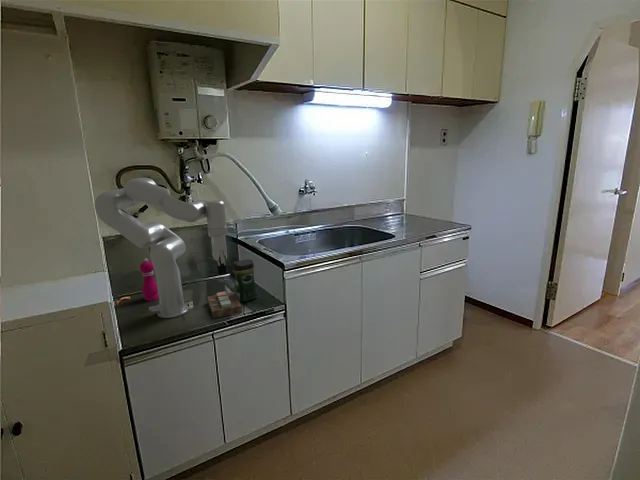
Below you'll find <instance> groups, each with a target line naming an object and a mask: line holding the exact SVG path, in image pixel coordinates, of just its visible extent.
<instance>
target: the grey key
mask: <svg viewBox="0 0 640 480" xmlns="http://www.w3.org/2000/svg"><path fill="white" fill-rule="evenodd" d="M218 299H219V304H220V301H226V300H229V298H228V296H222V297H218Z"/></svg>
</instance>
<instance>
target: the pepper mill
mask: <svg viewBox="0 0 640 480" xmlns="http://www.w3.org/2000/svg"><path fill="white" fill-rule="evenodd" d="M139 269H140V271H141V274H142V277H143V283H142V288H141V292H142V294H143V295H144V296H143V297H144V298H143V299H144V300H145V301H146V300H147V301H146V302H153V301H156V300H158V299H159V294H158V287H157V281H155V279H154V275H155V272H154V266H153V264H152V261H151V260H150V261H149V259H148V258H146V257H145V258H144V259H143V262H141V263H140V265H139ZM152 300H153V301H152Z"/></svg>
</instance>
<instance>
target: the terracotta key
mask: <svg viewBox="0 0 640 480" xmlns="http://www.w3.org/2000/svg"><path fill="white" fill-rule="evenodd" d="M226 293H227V291H225V290H224V291H220V292H219V291H218V292H216V295H217V299H218V297H222V296H227V294H226Z"/></svg>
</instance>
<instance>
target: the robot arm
mask: <svg viewBox="0 0 640 480" xmlns="http://www.w3.org/2000/svg"><path fill="white" fill-rule="evenodd" d="M140 203H142V204H145V205H149V206H151V207H154V208H156V209H158V210H161V212H163V213H164V214H165V215H167V216H168V217H171V218H173V219H177V220H179V221H182V222H186V223H195V222H197V221H200V220H202V219H205V218H206V225H207V234H208V237H210V238H211V239H210V240H211V241H210V242H211V255H212V257H213V260H214V261H216V262H217V274H218V276H225V275H227V274H228V273H227V265H226V260H227V259H228V253H227V251H228V250H227V241H226V236H227V235H228V234H229V233H228V225H227V224H228V223H227V215H226V205H225V202H224V201H223V200H220V199H219V200H218V199H216V200H203V199H197V200H194V201H192V202H191V201H190V202H186V201H183V200H180V199H178V198H175V197H173V196H172V195H171V192H170V190H169V189H168V188H165V187H162V186H159V185H157V183H156V182H155V181H154V180H153V179H152V178H149V177H137V178H132V179H130V180H128V181H126V182H125V184H124V186H123V187H122V188H117V189H112V190H111V189H110V190H108V191H107V190H106V191H104V192H101V193H100V194H98V195H97V196H96V198H95V200H94V209H96V210H95V213H96V215H97V216H98V218H99V219H100V220H101V222H102V223H104V224H106V225H107V226H108V227H110V228H111V229H113V230H114V231H116V232H117V233H119V235H121V236H123V237H124V238H126V239H127V240H128V241H130V242H131V243H132V244H133V245H135V246H137V247H138V248H141V249H146V248H149V247H151V246H152V248H151V249H150V252H149V258H150V262H152V264H153V266H154V269H153V271H154V275H155V280H156V281H155V282H156V284H157V287H158V292H157V293H158V294H159V298H158V299H159V303H158V304H157V305H152V306H148V311H149V312H152V313H156V312H157V313H156V314H157V316H158V317H159V318H162V319H171V318H177V317H181V316H182V315H185V314H186V313H188V311H189V306H188V305H187V304H185V301H184V293H183V286H182V278H181V272H180V268H179V265H178V264H177V261H176V260H177V259H179V258H180V257H182V255H184V253H185V252H186V249H187V247H186V243H185V242H184V240H183V238H181V237H180V236H178V235H177V234H176V233H175V232H173V231H172V230H170V228H169V227H166V226H165V225H164V224H162V223H160V222H157V221H148V222H145V223H144V222H141V221H140V220H138V219H137V218H136V217H134V216H133V215H131V214H129V213H126V212H124V211H122V210H125V209H129V208H132V207H134V206H136V205H138V204H140Z"/></svg>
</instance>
